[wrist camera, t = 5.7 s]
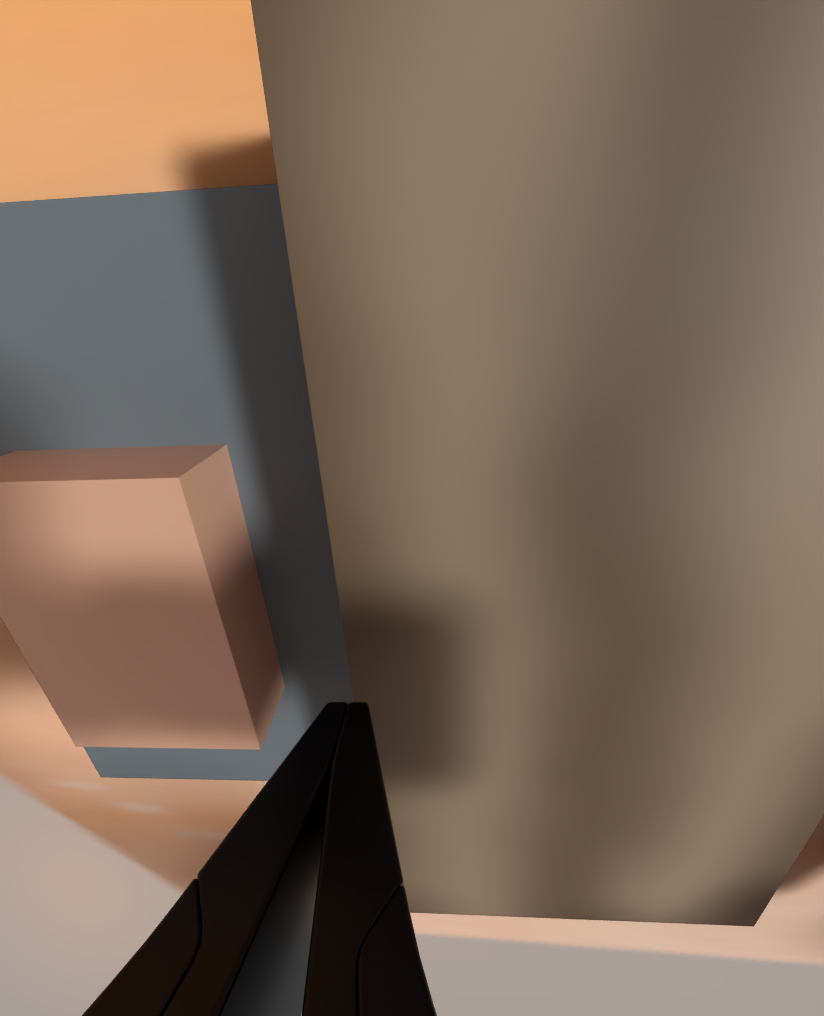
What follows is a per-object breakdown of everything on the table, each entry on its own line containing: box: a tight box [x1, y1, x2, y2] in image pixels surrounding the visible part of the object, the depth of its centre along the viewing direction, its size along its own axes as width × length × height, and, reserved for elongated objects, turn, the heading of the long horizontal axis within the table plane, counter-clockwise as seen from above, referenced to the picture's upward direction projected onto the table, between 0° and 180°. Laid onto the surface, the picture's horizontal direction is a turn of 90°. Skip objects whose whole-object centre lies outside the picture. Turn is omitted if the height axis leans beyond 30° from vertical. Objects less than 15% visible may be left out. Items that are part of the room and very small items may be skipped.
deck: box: [251, 0, 824, 926], centre depth 11 cm, size 12×22×4 cm, turn 3°
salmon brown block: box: [0, 444, 285, 750], centre depth 13 cm, size 6×9×2 cm, turn 3°
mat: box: [0, 184, 354, 781], centre depth 14 cm, size 12×20×1 cm, turn 3°
